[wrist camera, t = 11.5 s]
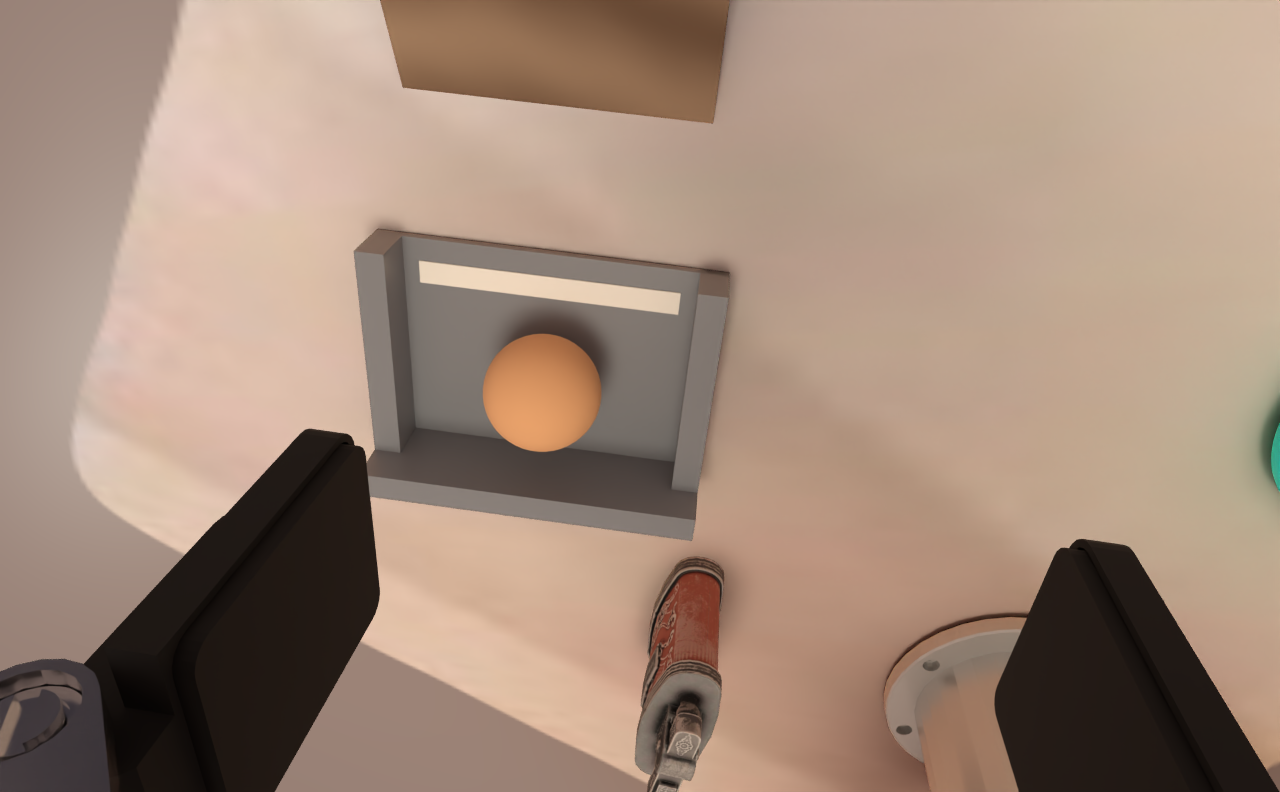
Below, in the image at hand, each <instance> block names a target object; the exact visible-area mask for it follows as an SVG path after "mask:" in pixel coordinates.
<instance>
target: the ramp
mask: <svg viewBox="0 0 1280 792" xmlns="http://www.w3.org/2000/svg"><path fill="white" fill-rule="evenodd" d="M380 1H381V5H382V9H383V13H384V17H385V21H386V24H387V28H388V32H389V36H390V40H391V44H392V48H393V51H394V55H395V59H396V63H397V67H398V71H399V75H400V78H401V82H402V86H403V88H411V89H420V90H429V91H437V92H446V93H455V94H463V95H472V96H480V97H489V98H498V99H506V100H515V101H523V102H532V103H541V104H549V105H558V106H567V107H575V108H584V109H592V110H601V111H610V112H618V113H627V114H636V115H644V116H653V117H661V118H670V119H679V120H687V121H696V122H704V123H713V119H714V112H715V105H716V97H717V90H718V82H719V75H720V68H721V60H722V53H723V45H724V38H725V31H726V23H727V16H728V8H729V1H730V0H380Z"/></svg>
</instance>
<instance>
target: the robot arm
mask: <svg viewBox="0 0 1280 792" xmlns="http://www.w3.org/2000/svg"><path fill="white" fill-rule="evenodd" d="M379 596H380V587H379V578H378V568H377V559H376V549H375V540H374V530H373V521H372V511H371V502H370V492H369V483H368V473H367V464H366V455H365V451H364V449H363V448H362V447H360V446H355V445H354V441H353V439H352V437H351V436H350V435H348V434H344V433H337V432H330V431H323V430H316V429H306V430H304V431H303V432H302V433H301V434H300V435H299V436H298V437H297V438H296V439H295V440H294V441H293V442H292V443H291V444H290V446H289V447H288V448H287V449H286V450H285V451H284V452H283V453H282V454H281V455H280V456H279V457H278V458H277V460H276V461H275V462H274V463H273V464H272V465H271V466H270V467H269V468H268V469H267V470H266V471H265V473H264V474H263V475H262V476H261V477H260V478H259V479H258V480H257V481H256V482H255V483H254V484H253V486H252V487H251V488H250V489H249V490H248V491H247V492H246V493H245V494H244V495H243V496H242V497H241V499H240V500H239V501H238V502H237V503H236V504H235V505H234V506H233V507H232V508H231V509H230V510H229V512H228V513H227V514H226V515H225V516H223V517H222V518H220V519H219V520H218V521H217V522H216V523H214V524H213V525H212V526H211V528H210V529H209V530H208V531H207V532H206V533H205V534H204V535H203V536H202V537H201V538H200V539H199V540H198V542H197V543H196V544H195V545H194V546H193V547H192V548H191V549H190V550H189V551H188V552H187V553H186V554H185V556H184V557H183V558H182V559H181V560H180V561H179V562H178V563H177V564H176V565H175V566H174V567H173V568H172V569H171V571H170V572H169V573H168V574H167V575H166V576H165V577H164V578H163V579H162V580H161V581H160V582H159V584H158V585H157V586H156V587H155V588H154V589H153V590H152V591H151V592H150V593H149V594H148V595H147V597H146V598H145V599H144V600H143V601H142V602H141V603H140V604H139V605H138V606H137V607H136V608H135V610H133V611H132V613H131V614H130V615H129V616H128V617H127V618H126V619H125V620H124V621H123V622H122V623H121V624H120V625H119V627H118V628H117V629H116V630H115V631H114V632H113V633H112V634H111V635H110V636H109V637H108V639H106V640H105V642H104V643H103V644H102V645H101V646H100V647H99V648H98V649H97V650H96V651H95V652H94V653H93V654H92V656H91V657H90V658H89V659H88V660H87V661H86V662H85V663H84V664H82V663H78V662H75V661H71V660H67V659H41V660H36V661H32V662H27V663H22V664H18V665H15V666H12V667H10V668H8V669H5V670H3V671H0V792H275V790H276V788H277V786H278V785H279V783H280V781H281V779H282V778H283V776H284V774H285V772H286V771H287V769H288V767H289V765H290V764H291V762H292V760H293V758H294V757H295V755H296V753H297V751H298V750H299V748H300V746H301V744H302V743H303V741H304V739H305V737H306V735H307V734H308V732H309V730H310V728H311V727H312V725H313V723H314V721H315V719H316V718H317V716H318V714H319V712H320V711H321V709H322V707H323V706H324V704H325V702H326V700H327V698H328V697H329V695H330V693H331V691H332V690H333V688H334V686H335V684H336V683H337V681H338V679H339V677H340V675H341V674H342V672H343V670H344V668H345V666H346V665H347V663H348V661H349V660H350V658H351V656H352V654H353V653H354V651H355V649H356V647H357V646H358V644H359V642H360V640H361V639H362V637H363V635H364V633H365V631H366V630H367V628H368V626H369V624H370V623H371V621H372V619H373V617H374V615H375V613H376V610H377V607H378V603H379ZM883 697H884V710H885V714H886V719H887V723H888V728H889V730H890V731H891V733H892V735H893V737H894V739H895V740H896V742H897V743H898V744H899V745H900V746H901V747H902V748H903V749H904V750H905V751H906V752H907V753H909V754H910V755H911V756H913V757H914V758H916V759H917V760H918V761H920V762H922V763H924V764H925V768H926V773H927V778H928V783H929V787H930V792H1279V791H1278V789H1277V787H1276V785H1275V784H1274V782H1273V781H1272V779H1271V777H1270V776H1269V774H1268V772H1267V771H1266V769H1265V767H1264V766H1263V764H1262V762H1261V761H1260V759H1259V757H1258V756H1257V754H1256V753H1255V751H1254V749H1253V748H1252V746H1251V744H1250V743H1249V741H1248V739H1247V738H1246V736H1245V734H1244V733H1243V731H1242V730H1241V728H1240V726H1239V725H1238V723H1237V721H1236V720H1235V718H1234V716H1233V715H1232V713H1231V711H1230V710H1229V708H1228V706H1227V705H1226V703H1225V702H1224V700H1223V698H1222V697H1221V695H1220V693H1219V692H1218V690H1217V688H1216V687H1215V685H1214V683H1213V682H1212V680H1211V679H1210V677H1209V675H1208V674H1207V672H1206V670H1205V669H1204V667H1203V665H1202V664H1201V662H1200V660H1199V659H1198V657H1197V655H1196V654H1195V652H1194V651H1193V649H1192V647H1191V646H1190V644H1189V642H1188V641H1187V639H1186V637H1185V636H1184V634H1183V632H1182V631H1181V629H1180V628H1179V626H1178V624H1177V623H1176V621H1175V619H1174V618H1173V616H1172V614H1171V613H1170V611H1169V609H1168V608H1167V606H1166V604H1165V603H1164V601H1163V600H1162V598H1161V596H1160V595H1159V593H1158V591H1157V590H1156V588H1155V586H1154V585H1153V583H1152V581H1151V580H1150V578H1149V577H1148V575H1147V573H1146V572H1145V570H1144V568H1143V567H1142V565H1141V563H1140V562H1139V560H1138V558H1137V557H1136V555H1135V553H1134V552H1133V551H1132V550H1131V549H1130V547H1128V546H1125V545H1121V544H1114V543H1107V542H1100V541H1093V540H1086V539H1079V540H1076V541H1075V542H1074V543H1072V545H1071V546H1070V548H1060V549H1059V550H1058V551H1057V552H1056V554H1055V556H1054V558H1053V560H1052V562H1051V565H1050V567H1049V569H1048V571H1047V574H1046V576H1045V578H1044V581H1043V583H1042V585H1041V587H1040V590H1039V592H1038V594H1037V596H1036V599H1035V601H1034V603H1033V605H1032V608H1031V610H1030V612H1029V615H1028V617H1027V618H1020V617H1004V618H993V619H984V620H979V621H975V622H970V623H966V624H961V625H959V626H956V627H953V628H950V629H948V630H945V631H942V632H940V633H938V634H936V635H934V636H932V637H930V638H929V639H927V640H925V641H923V642H921V643H920V644H919V645H917V646H916V647H915V648H913V649H912V650H911V651H909V652H908V653H907V654H906V655H905V656H904V657H903V658H902V659H901V660H900V661H899V662H898V664H897V665H896V666H895V667H894V669H893V670H892V672H891V674H890V676H889V678H888V680H887V682H886V686H885V691H884V695H883Z"/></svg>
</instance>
